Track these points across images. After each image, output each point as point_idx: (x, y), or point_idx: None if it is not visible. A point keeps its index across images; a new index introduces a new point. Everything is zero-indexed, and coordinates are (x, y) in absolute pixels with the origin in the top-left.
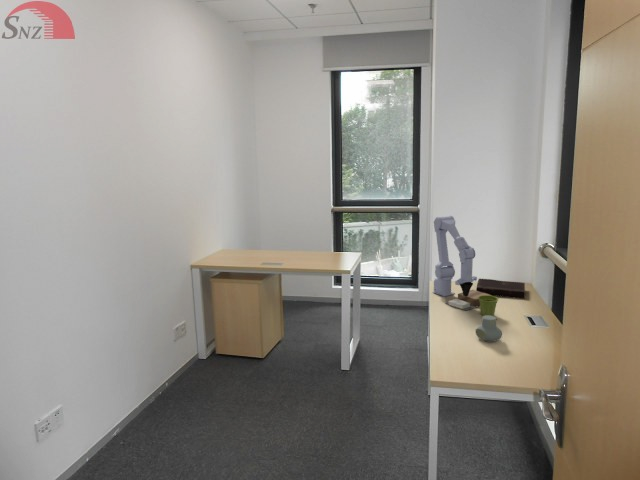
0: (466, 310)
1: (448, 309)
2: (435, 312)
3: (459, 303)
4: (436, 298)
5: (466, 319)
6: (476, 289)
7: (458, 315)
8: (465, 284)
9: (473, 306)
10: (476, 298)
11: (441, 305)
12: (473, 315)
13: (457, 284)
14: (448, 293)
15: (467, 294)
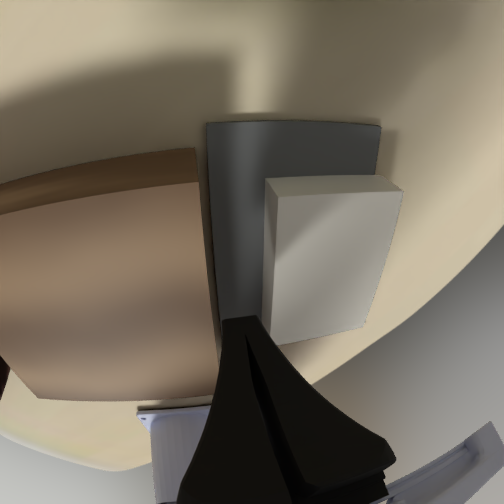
0: (379, 127)
1: (423, 238)
2: (484, 239)
3: (371, 246)
4: None
5: (495, 37)
6: (3, 388)
7: (479, 114)
8: (369, 476)
9: (225, 160)
10: (155, 216)
11: (378, 312)
12: (423, 19)
13: (487, 433)
14: (188, 419)
15: (251, 331)
